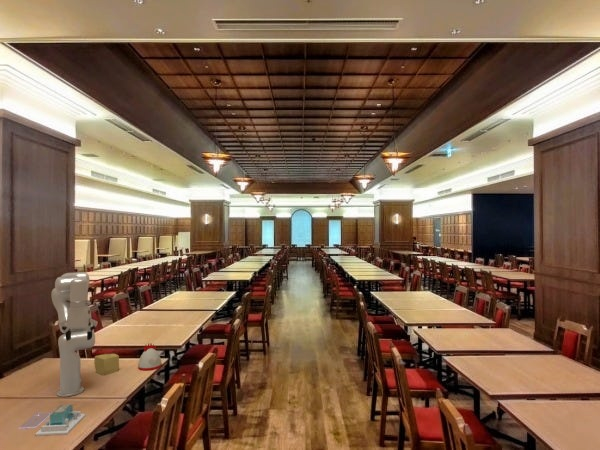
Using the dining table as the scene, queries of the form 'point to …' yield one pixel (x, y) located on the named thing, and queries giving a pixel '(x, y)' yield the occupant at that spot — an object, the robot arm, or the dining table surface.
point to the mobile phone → (35, 420)
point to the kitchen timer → (149, 359)
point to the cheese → (106, 363)
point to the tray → (61, 426)
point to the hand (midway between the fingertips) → (79, 339)
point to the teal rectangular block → (61, 415)
